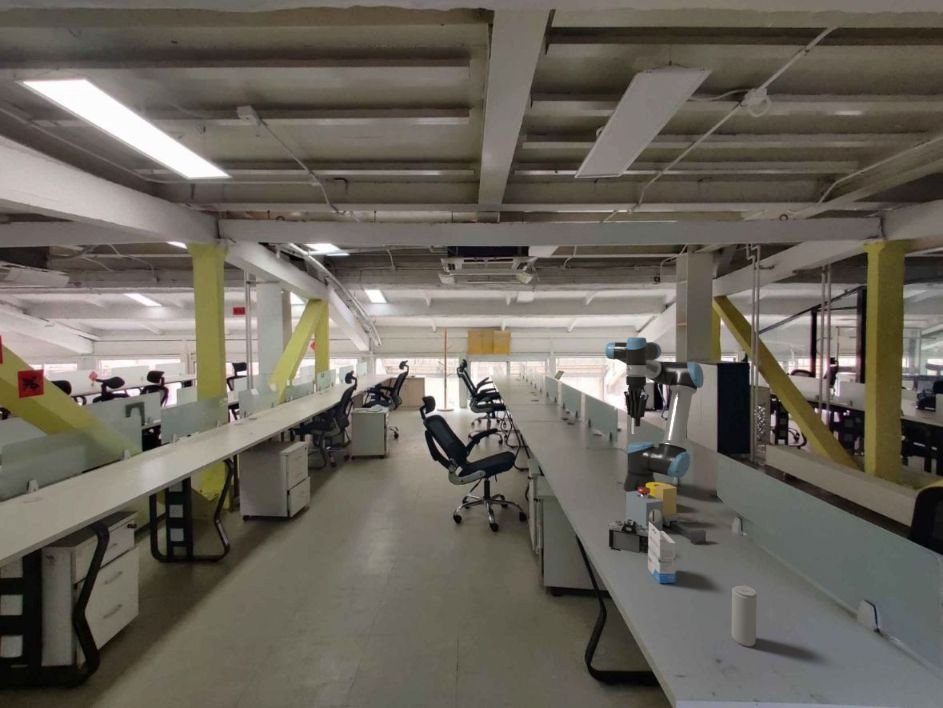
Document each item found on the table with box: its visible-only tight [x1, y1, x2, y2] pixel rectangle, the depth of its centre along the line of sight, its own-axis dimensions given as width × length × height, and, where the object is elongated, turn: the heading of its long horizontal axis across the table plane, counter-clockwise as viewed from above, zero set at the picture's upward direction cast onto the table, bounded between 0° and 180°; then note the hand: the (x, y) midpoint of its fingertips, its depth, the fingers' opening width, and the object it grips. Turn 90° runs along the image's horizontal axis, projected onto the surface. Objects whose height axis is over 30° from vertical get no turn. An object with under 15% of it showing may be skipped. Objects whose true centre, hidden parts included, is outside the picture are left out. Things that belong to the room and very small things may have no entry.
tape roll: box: [646, 481, 668, 497], centre depth 181 cm, size 10×10×9 cm
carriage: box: [656, 483, 682, 527], centre depth 166 cm, size 7×8×13 cm
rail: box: [662, 521, 707, 545], centre depth 161 cm, size 5×23×4 cm, turn 15°
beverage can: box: [730, 584, 758, 647], centre depth 100 cm, size 5×5×12 cm
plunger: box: [638, 487, 650, 499], centre depth 164 cm, size 4×4×8 cm
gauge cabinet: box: [625, 491, 663, 531], centre depth 164 cm, size 7×13×11 cm, turn 15°
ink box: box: [647, 522, 677, 584], centre depth 129 cm, size 8×5×15 cm, turn 0°
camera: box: [608, 518, 655, 556], centre depth 146 cm, size 16×9×10 cm, turn 62°
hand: (635, 433), depth 175 cm, fingers closed
